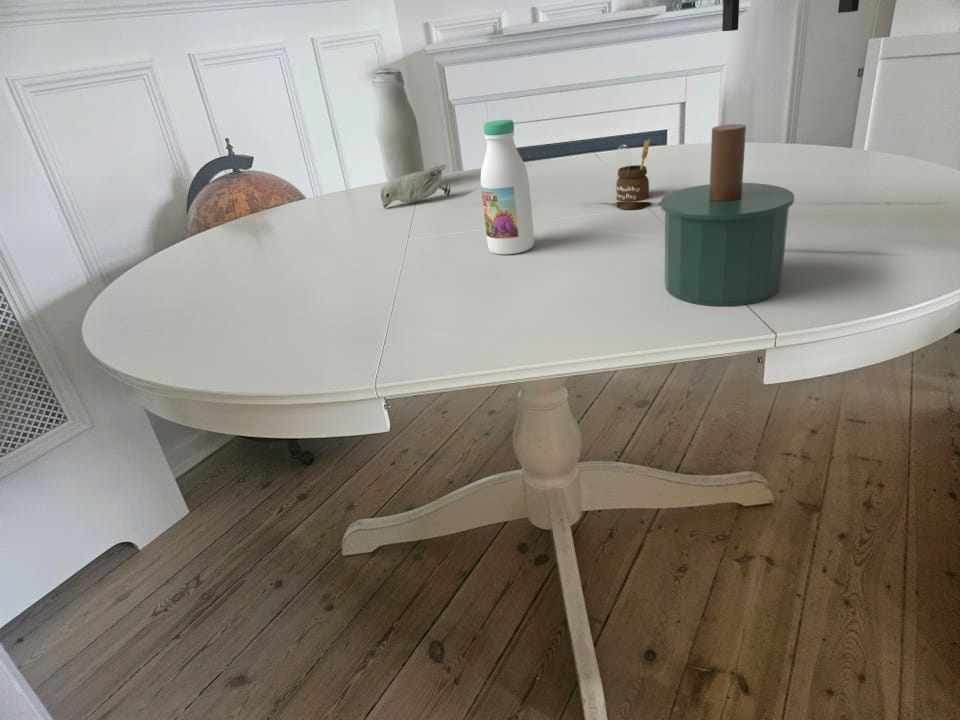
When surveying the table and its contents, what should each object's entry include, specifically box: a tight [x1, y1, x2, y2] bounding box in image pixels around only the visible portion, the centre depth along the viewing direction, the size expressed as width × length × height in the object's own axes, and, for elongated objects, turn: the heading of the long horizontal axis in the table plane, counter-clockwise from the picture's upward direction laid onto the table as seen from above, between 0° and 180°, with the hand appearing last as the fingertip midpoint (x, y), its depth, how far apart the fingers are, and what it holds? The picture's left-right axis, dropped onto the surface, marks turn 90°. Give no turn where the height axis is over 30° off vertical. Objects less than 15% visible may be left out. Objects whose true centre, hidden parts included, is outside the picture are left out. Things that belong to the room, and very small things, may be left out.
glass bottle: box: [372, 67, 425, 181], centre depth 153 cm, size 10×10×28 cm
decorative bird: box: [380, 162, 452, 209], centre depth 143 cm, size 5×16×7 cm, turn 105°
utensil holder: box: [615, 138, 651, 211], centre depth 116 cm, size 6×6×12 cm
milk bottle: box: [480, 119, 535, 255], centre depth 100 cm, size 8×8×20 cm
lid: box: [660, 123, 795, 220], centre depth 73 cm, size 15×15×9 cm
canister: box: [664, 207, 790, 307], centre depth 77 cm, size 14×14×10 cm
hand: (788, 21), depth 73 cm, fingers open, 13 cm apart
